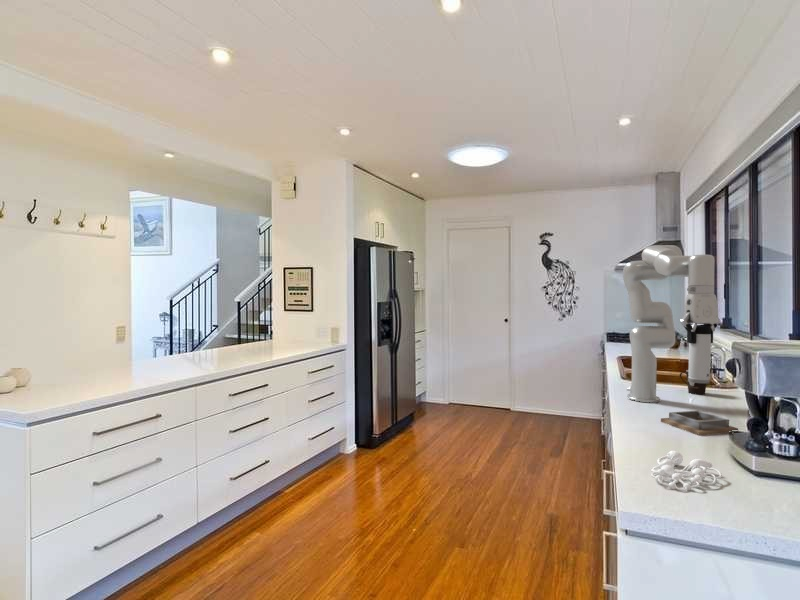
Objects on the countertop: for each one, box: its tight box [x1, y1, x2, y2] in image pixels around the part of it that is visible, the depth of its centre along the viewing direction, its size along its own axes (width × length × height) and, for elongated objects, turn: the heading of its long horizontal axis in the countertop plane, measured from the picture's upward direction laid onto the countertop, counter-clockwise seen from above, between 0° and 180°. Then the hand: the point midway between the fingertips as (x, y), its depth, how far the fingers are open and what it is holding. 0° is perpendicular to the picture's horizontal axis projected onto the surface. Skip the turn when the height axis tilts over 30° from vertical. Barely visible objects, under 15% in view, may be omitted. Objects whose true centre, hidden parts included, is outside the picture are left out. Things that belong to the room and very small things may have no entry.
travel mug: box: [688, 324, 712, 384], centre depth 161 cm, size 6×7×20 cm
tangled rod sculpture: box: [650, 450, 723, 492], centre depth 118 cm, size 19×14×4 cm
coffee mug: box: [679, 369, 708, 396], centre depth 215 cm, size 12×9×10 cm
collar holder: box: [660, 409, 739, 436], centre depth 162 cm, size 16×16×4 cm
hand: (699, 342), depth 161 cm, fingers closed on travel mug, 6 cm apart
